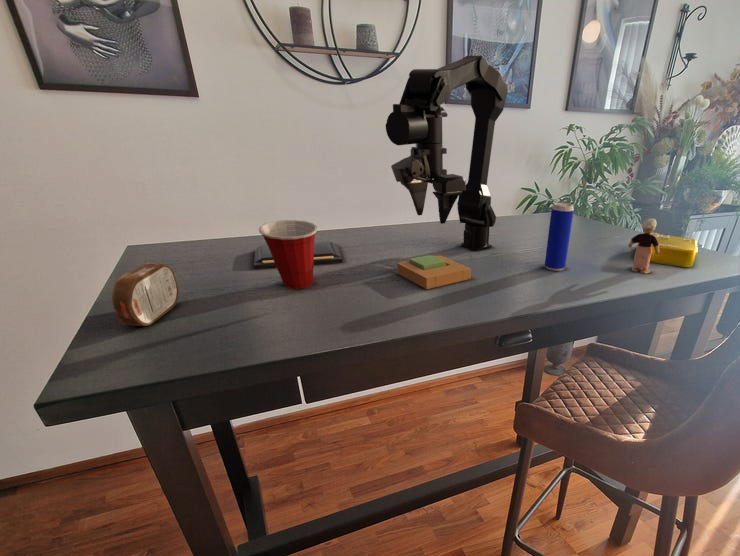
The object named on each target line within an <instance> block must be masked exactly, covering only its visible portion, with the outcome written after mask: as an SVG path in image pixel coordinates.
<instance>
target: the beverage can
mask: <svg viewBox="0 0 740 556" xmlns="http://www.w3.org/2000/svg"><path fill="white" fill-rule="evenodd" d="M574 211H575V209H574V204H572V203H568V202H567V203H566V202H554V203H552V206H551V209H550V218H549V226H548V236H547V242H546V252H545V259H544V260H545V261H544V266H545V269H547V270H549V271H552V272H553V271H554V272H558V271H559V272H560V271H563V270H564V269H565V268H566V267H567V266H566V265H567V259H568V251H569V246H570V237H571V233H572V226H573V225H572V224H573V218H574Z"/></svg>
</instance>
